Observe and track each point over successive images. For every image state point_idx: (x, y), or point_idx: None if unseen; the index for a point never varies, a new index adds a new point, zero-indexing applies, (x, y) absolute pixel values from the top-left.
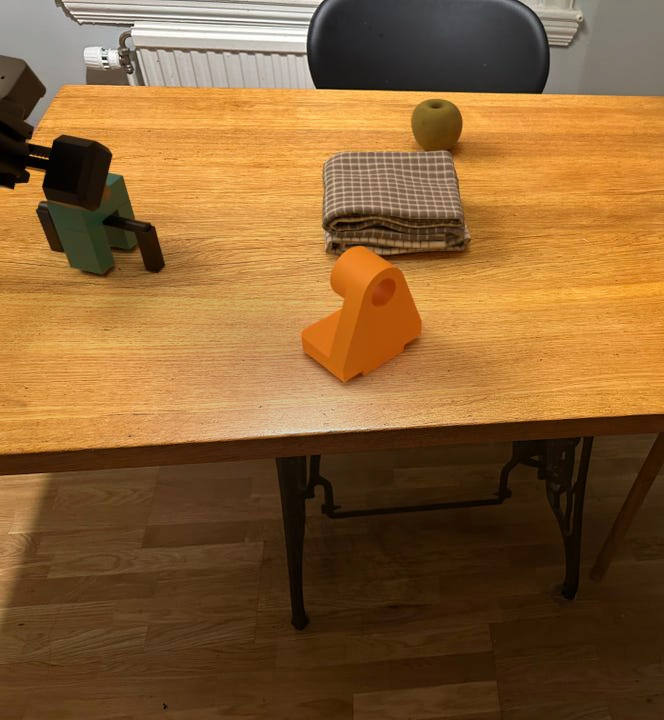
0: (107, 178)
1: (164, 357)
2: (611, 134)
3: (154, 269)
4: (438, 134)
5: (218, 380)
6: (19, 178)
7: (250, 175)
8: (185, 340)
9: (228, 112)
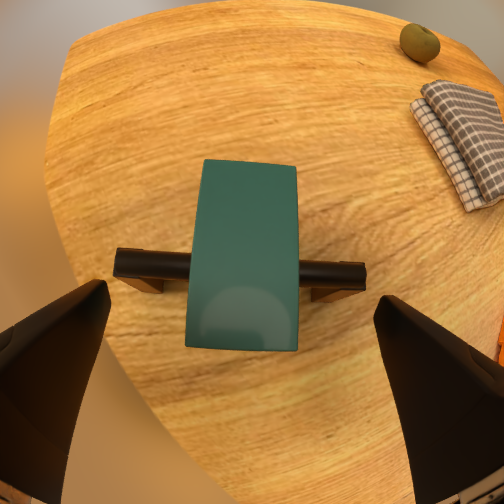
0: (271, 187)
1: None
2: (464, 62)
3: (328, 301)
4: (434, 54)
5: None
6: (97, 329)
7: (306, 79)
8: None
9: (219, 17)
